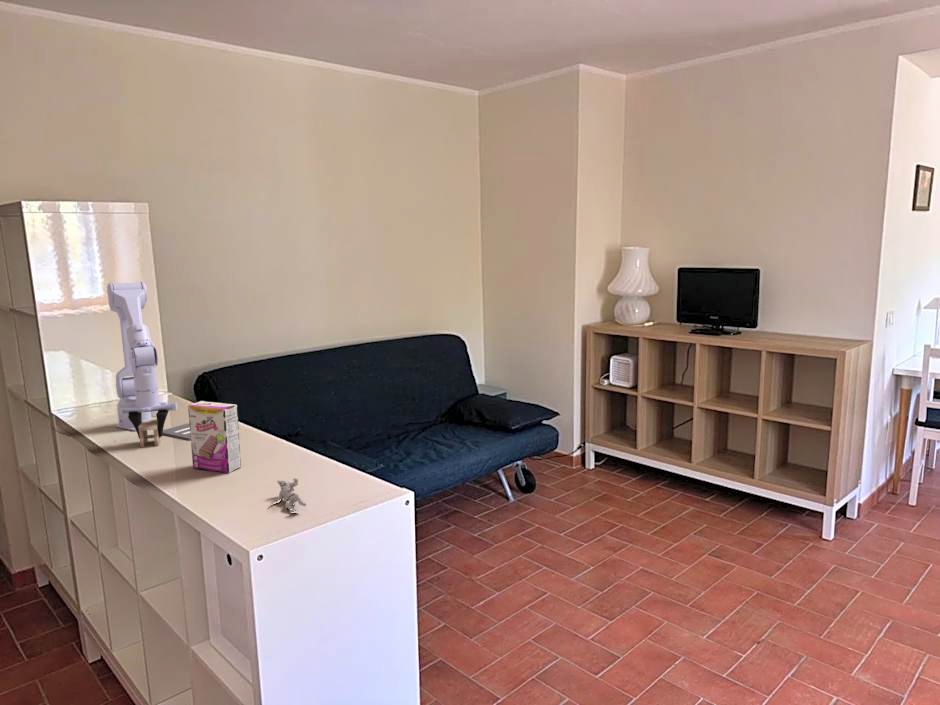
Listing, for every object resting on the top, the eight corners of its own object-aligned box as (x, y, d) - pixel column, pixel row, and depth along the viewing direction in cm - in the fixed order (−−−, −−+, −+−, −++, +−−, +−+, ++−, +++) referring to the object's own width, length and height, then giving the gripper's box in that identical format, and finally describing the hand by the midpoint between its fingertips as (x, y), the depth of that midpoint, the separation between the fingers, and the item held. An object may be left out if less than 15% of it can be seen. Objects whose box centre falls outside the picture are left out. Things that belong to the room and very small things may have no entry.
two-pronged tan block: (140, 447, 177) (138, 426, 176) (145, 440, 183) (143, 420, 182) (157, 446, 179) (156, 425, 178) (162, 439, 185) (160, 419, 184)
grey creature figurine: (279, 523, 132) (257, 489, 140) (294, 531, 135) (272, 497, 143) (306, 494, 133) (283, 462, 141) (320, 503, 136) (297, 471, 144)
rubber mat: (158, 433, 190) (157, 431, 190) (187, 425, 199) (187, 423, 199) (189, 440, 184) (189, 438, 184) (218, 431, 192) (218, 429, 192)
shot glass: (173, 411, 215) (171, 391, 214) (161, 417, 208) (160, 396, 207) (154, 411, 216) (152, 390, 215) (141, 416, 209) (139, 395, 208)
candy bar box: (191, 469, 160) (186, 404, 157) (206, 462, 165) (201, 400, 162) (228, 474, 157) (224, 408, 154) (242, 467, 161) (238, 403, 159)
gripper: (113, 394, 173) (118, 443, 175) (172, 390, 177) (176, 438, 179) (120, 388, 179) (124, 436, 182) (176, 385, 183) (180, 431, 185)
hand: (150, 436), depth 181 cm, fingers closed on two-pronged tan block, 4 cm apart
